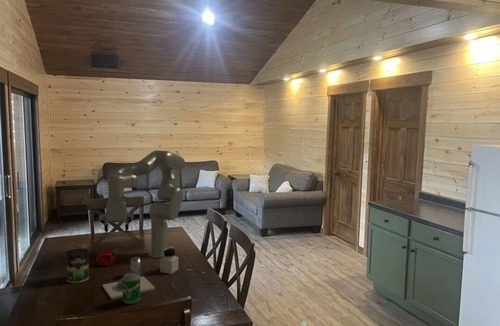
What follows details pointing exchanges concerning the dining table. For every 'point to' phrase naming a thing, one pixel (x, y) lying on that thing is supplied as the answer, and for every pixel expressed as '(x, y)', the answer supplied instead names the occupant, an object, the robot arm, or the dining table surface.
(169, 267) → the medicine bottle
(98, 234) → the dining table surface
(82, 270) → the coffee can
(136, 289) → the soda can
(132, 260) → the piston
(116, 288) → the ring board
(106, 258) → the pomegranate
